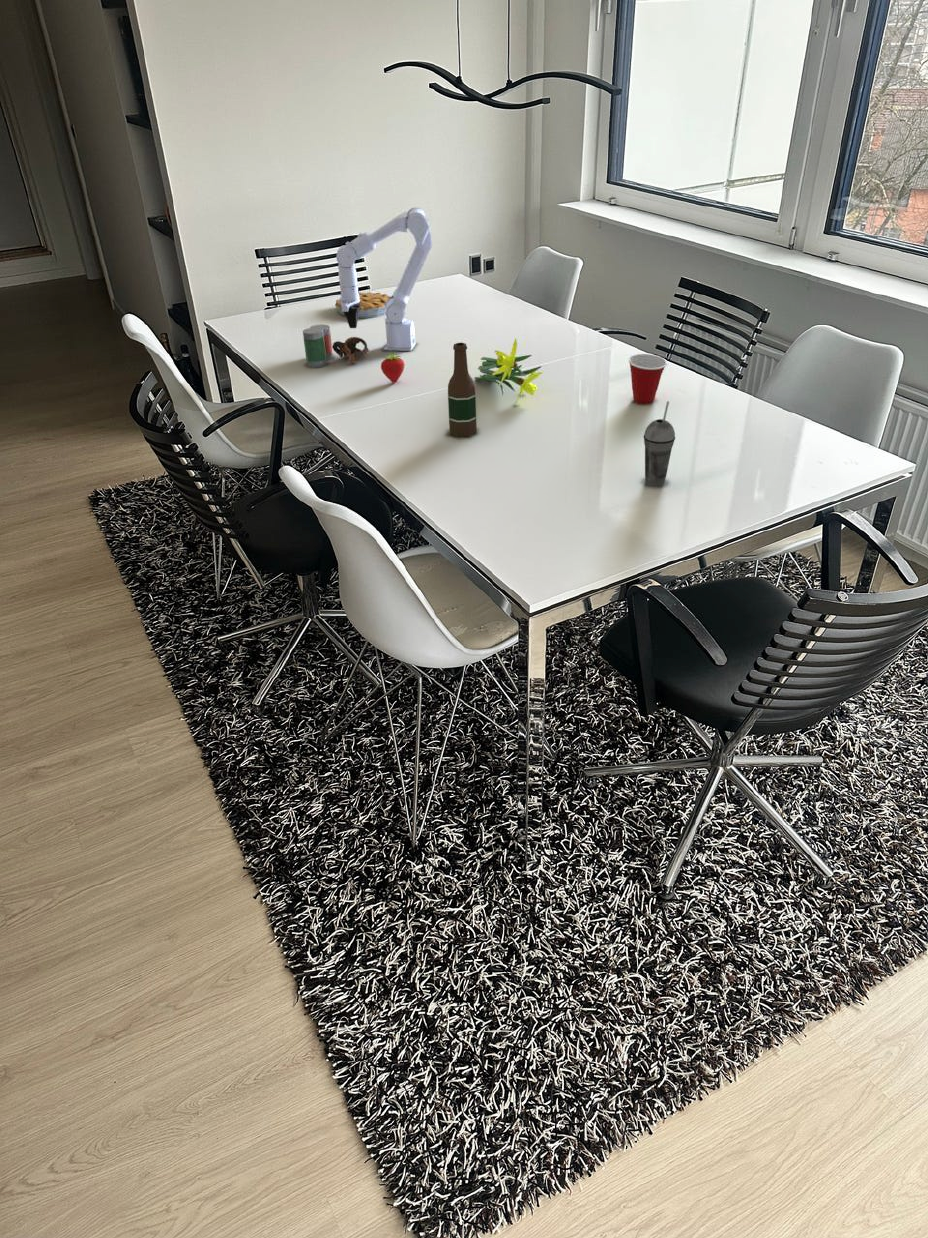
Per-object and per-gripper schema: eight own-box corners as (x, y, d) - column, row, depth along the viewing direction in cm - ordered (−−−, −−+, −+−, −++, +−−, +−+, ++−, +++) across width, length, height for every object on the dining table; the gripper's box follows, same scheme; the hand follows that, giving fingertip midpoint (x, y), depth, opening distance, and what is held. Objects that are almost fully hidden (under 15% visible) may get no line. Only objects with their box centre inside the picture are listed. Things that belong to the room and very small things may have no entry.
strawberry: (378, 382, 275) (376, 350, 269) (400, 377, 278) (398, 345, 272) (386, 387, 271) (384, 355, 265) (409, 383, 274) (407, 350, 268)
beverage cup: (636, 476, 215) (642, 397, 204) (665, 474, 216) (674, 395, 204) (643, 490, 209) (651, 408, 198) (674, 488, 210) (683, 406, 198)
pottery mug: (369, 355, 298) (371, 337, 291) (364, 376, 294) (366, 358, 286) (333, 346, 297) (335, 328, 290) (328, 367, 292) (329, 349, 285)
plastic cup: (650, 410, 249) (653, 368, 242) (617, 401, 255) (620, 360, 249) (670, 399, 256) (675, 358, 249) (638, 391, 262) (642, 350, 255)
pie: (369, 322, 328) (368, 308, 325) (324, 314, 338) (323, 300, 335) (404, 307, 343) (404, 293, 340) (360, 300, 353) (359, 287, 350)
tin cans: (335, 354, 298) (331, 321, 292) (323, 367, 288) (319, 333, 281) (316, 354, 299) (312, 320, 293) (304, 367, 289) (299, 333, 282)
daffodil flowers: (517, 374, 279) (565, 379, 248) (483, 406, 278) (527, 415, 247) (485, 331, 272) (530, 330, 240) (450, 363, 271) (491, 366, 240)
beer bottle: (481, 428, 243) (479, 340, 229) (472, 439, 237) (469, 349, 223) (454, 425, 245) (450, 338, 231) (444, 436, 239) (440, 347, 225)
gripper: (343, 279, 297) (347, 320, 304) (330, 291, 285) (335, 333, 293) (363, 279, 295) (367, 321, 303) (351, 291, 284) (356, 334, 292)
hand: (353, 327), depth 298 cm, fingers closed
